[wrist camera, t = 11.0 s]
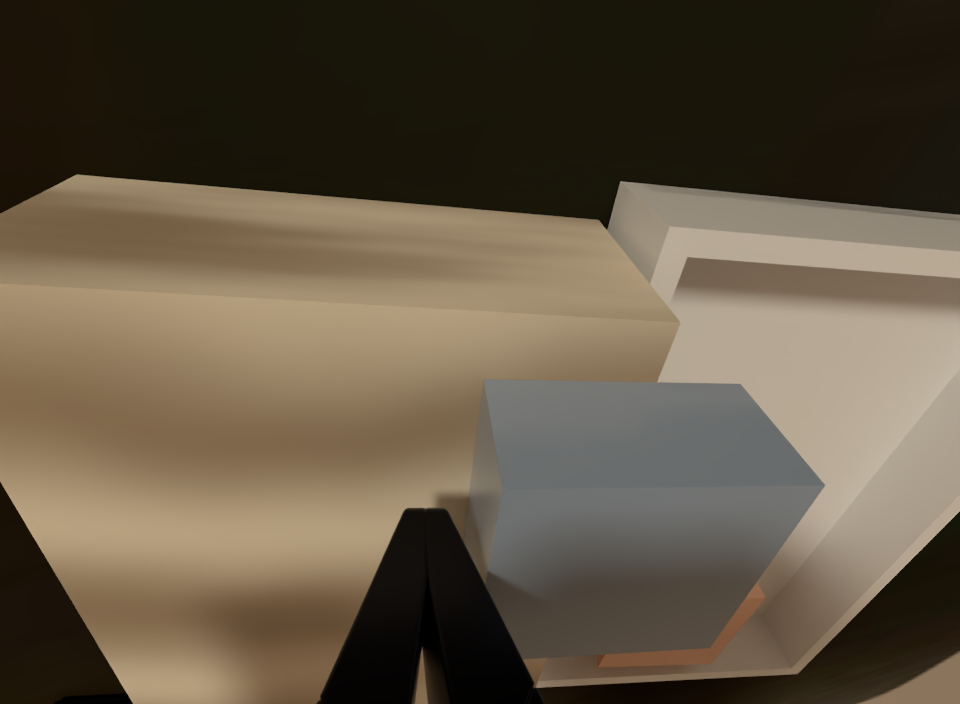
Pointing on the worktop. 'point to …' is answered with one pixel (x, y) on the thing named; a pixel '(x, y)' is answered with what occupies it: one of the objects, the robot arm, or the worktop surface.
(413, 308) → the birch board
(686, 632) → the tile slate
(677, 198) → the bin
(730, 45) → the worktop surface
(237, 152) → the worktop surface
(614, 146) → the worktop surface
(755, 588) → the tile terracotta
